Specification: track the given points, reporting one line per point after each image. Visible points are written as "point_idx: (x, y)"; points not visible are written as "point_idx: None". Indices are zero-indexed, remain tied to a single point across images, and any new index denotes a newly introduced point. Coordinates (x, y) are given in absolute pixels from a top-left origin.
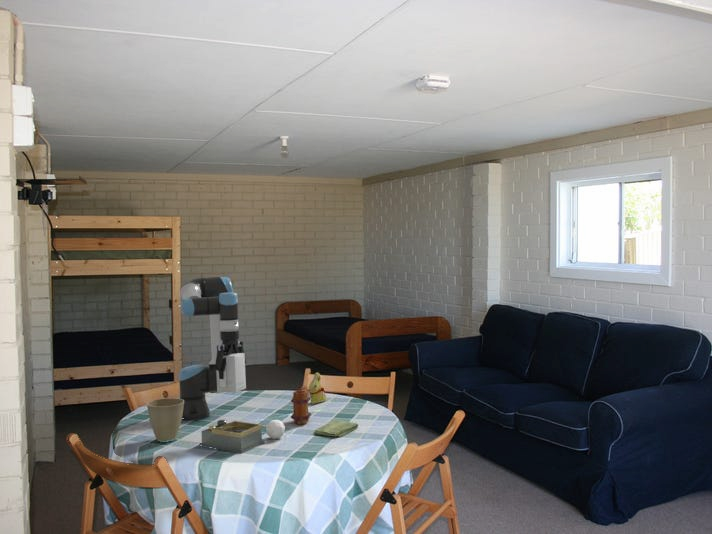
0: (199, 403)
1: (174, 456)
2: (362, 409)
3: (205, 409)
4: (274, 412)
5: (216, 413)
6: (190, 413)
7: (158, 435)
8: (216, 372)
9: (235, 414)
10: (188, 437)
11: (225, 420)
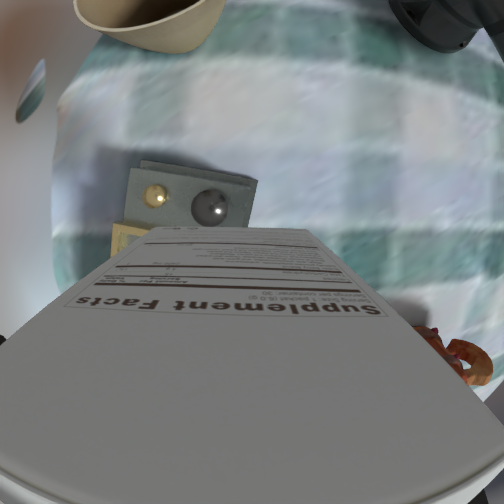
0: (442, 18)
1: (60, 151)
2: (476, 390)
3: (443, 40)
4: (492, 230)
5: (465, 68)
6: (405, 6)
7: (140, 23)
8: (84, 277)
9: (471, 125)
10: (222, 73)
11: (220, 220)
